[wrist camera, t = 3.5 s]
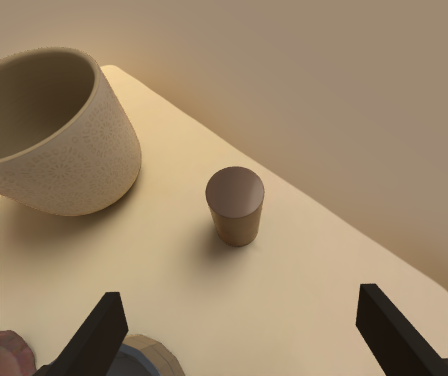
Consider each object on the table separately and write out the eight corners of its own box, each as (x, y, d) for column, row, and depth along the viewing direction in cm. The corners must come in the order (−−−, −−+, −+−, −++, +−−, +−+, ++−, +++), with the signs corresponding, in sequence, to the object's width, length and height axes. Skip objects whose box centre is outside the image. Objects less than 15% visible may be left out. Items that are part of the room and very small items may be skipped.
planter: (56, 253, 30) (-94, 206, 17) (38, 165, 38) (-75, 85, 24) (171, 190, 33) (122, 110, 20) (133, 121, 41) (79, 29, 27)
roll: (256, 205, 31) (261, 164, 22) (260, 245, 28) (267, 216, 20) (216, 207, 31) (205, 168, 22) (216, 247, 29) (204, 219, 20)
